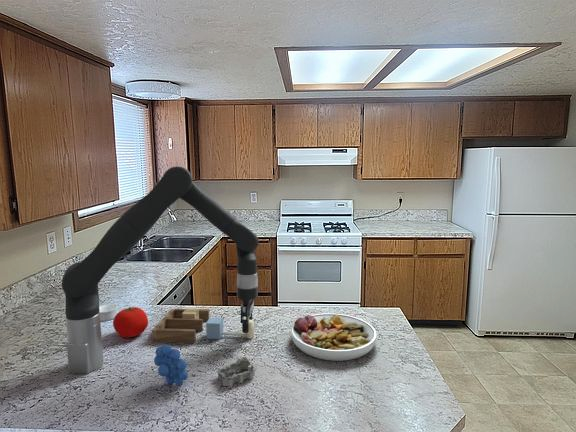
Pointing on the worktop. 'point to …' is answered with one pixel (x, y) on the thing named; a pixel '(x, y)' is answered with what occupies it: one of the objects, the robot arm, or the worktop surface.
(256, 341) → the worktop surface
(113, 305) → the ramekin
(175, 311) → the lane rack
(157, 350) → the grapes
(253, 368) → the egg carton
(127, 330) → the tomato
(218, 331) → the tethered block
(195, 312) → the plain oak block
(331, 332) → the bowl
